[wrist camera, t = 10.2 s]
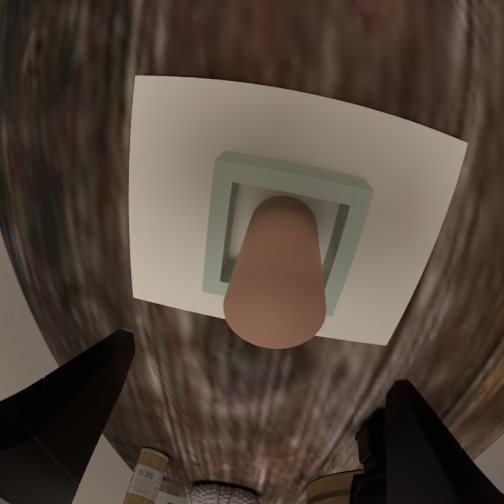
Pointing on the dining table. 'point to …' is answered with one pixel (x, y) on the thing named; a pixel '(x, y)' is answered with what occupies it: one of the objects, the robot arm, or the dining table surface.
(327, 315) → the socket board
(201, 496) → the sea urchin shell
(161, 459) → the sprinkles bottle
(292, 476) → the dining table surface
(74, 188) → the dining table surface
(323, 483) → the wooden container
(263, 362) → the dining table surface
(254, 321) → the terracotta peg
